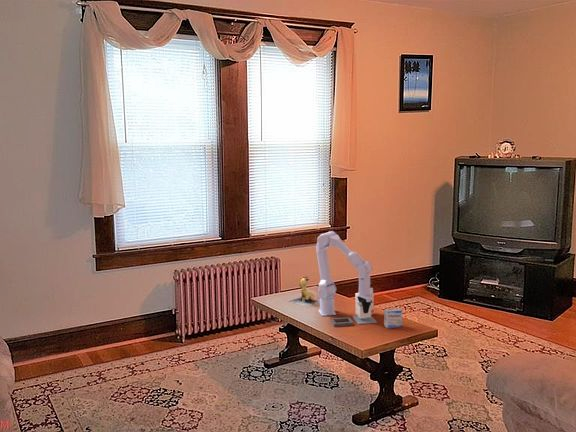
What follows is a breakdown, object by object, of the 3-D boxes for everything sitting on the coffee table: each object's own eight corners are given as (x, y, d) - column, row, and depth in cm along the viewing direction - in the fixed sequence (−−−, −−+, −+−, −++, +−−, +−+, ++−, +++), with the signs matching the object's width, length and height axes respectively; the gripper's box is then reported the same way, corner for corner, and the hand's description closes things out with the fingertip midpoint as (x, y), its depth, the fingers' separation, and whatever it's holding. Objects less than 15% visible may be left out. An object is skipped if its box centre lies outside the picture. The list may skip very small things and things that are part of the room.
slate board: (352, 317, 295) (352, 316, 295) (370, 316, 296) (370, 315, 296) (358, 324, 284) (358, 323, 284) (376, 323, 285) (376, 321, 285)
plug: (357, 315, 291) (357, 302, 290) (368, 314, 292) (368, 301, 291) (359, 317, 287) (359, 304, 286) (371, 317, 288) (371, 303, 287)
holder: (330, 321, 289) (330, 318, 289) (349, 320, 291) (349, 317, 291) (334, 326, 282) (334, 323, 281) (353, 325, 283) (353, 322, 283)
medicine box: (387, 328, 277) (387, 311, 276) (383, 325, 282) (383, 309, 280) (402, 327, 279) (402, 310, 277) (398, 324, 283) (398, 307, 282)
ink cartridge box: (369, 312, 303) (369, 285, 301) (373, 314, 298) (373, 287, 296) (355, 314, 300) (354, 287, 298) (359, 317, 295) (359, 289, 293)
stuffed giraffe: (288, 301, 325) (288, 274, 322) (310, 296, 336) (311, 270, 334) (306, 309, 313) (307, 281, 310) (330, 303, 324) (331, 276, 322)
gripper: (376, 289, 281) (376, 315, 283) (367, 281, 295) (367, 306, 297) (362, 290, 280) (362, 316, 282) (354, 282, 294) (354, 307, 296)
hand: (364, 311), depth 289 cm, fingers closed on plug, 4 cm apart
